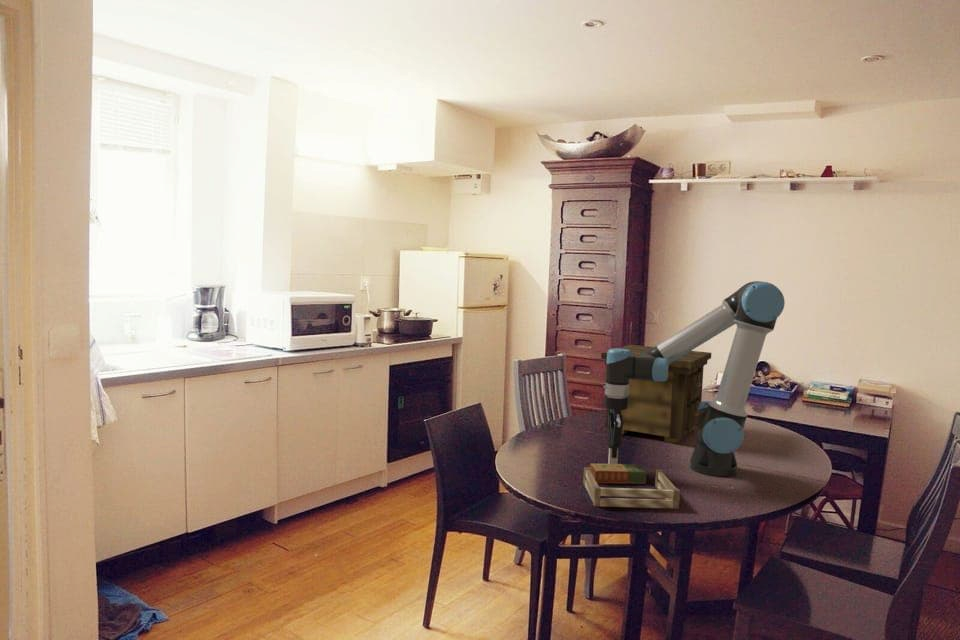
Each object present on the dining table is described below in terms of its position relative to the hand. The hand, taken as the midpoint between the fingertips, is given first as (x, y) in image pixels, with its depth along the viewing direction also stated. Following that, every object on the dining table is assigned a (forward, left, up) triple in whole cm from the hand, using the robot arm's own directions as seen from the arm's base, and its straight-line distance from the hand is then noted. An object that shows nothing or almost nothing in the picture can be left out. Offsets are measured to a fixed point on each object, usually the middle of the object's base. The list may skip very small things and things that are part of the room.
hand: (612, 466), depth 209 cm
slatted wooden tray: (0, +22, -1) cm, 22 cm away
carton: (0, +8, -2) cm, 8 cm away
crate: (-28, -53, -2) cm, 60 cm away
